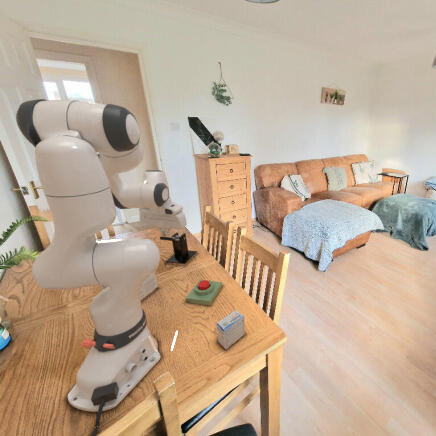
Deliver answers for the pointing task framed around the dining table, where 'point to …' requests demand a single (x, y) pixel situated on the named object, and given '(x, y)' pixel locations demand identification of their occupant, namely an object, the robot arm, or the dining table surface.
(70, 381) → the dining table surface
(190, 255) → the lever bracket
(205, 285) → the button
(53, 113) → the robot arm
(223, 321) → the medicine box
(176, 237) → the press lever
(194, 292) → the button block
